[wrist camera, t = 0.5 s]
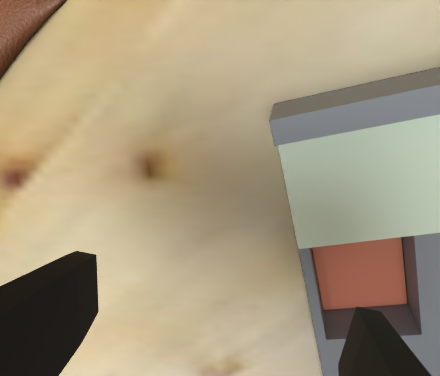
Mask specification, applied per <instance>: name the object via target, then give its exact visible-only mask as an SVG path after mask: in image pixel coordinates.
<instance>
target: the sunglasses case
mask: <svg viewBox="0 0 440 376" xmlns="http://www.w3.org/2000/svg"><path fill="white" fill-rule="evenodd" d="M65 1H66V0H0V78H1V77H2V75H3V74H4V72H5V71H6V70H7V68H8V67H9V65H10V64H11V63H12V62H13V61H14V59H15V58H16V56H17V55H18V54H19V52H20V51H21V49H22V48H23V46H24V45H25V44H26V43H27V41H28V40H29V39H30V38H31V37H32V36H33V35H34V34H35V33H36V31H37V30H38V29H39V28H40V26H41V25H42V24H43V23H44V22H45V20H46V19H47V18H48V17H49V16H50V15H51V14H52V13H53V12H55V11H57V10H58V9H59V8H60V7H61V6H62V5H63V4H64V3H65Z"/></svg>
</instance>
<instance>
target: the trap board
mask: <svg viewBox="0 0 440 376" xmlns="http://www.w3.org/2000/svg"><path fill="white" fill-rule="evenodd" d="M269 121H270V126H271V131H272V136H273V141H274V146H277V145H278V149H279V154H280V159H281V164H282V169H283V175H284V180H285V185H286V190H287V195H288V200H289V205H290V210H291V215H292V220H293V225H294V230H295V235H296V240H297V245H298V250H299V255H300V260H301V266H302V271H303V276H304V281H305V286H306V291H307V296H308V301H309V306H310V311H311V316H312V321H313V326H314V331H315V336H316V341H317V346H318V352H319V357H320V362H321V367H322V372H323V376H339V372H338V363H339V360H340V357H341V353H342V350H343V347H344V344H345V340H346V337H347V334H348V331H349V328H350V324H351V321H352V318H353V315H354V311H355V308H356V306H357V307H362V308H367V309H372V310H377V311H381V312H382V314H383V315H384V316H385V317H386V319H387V320H388V321H389V322H390V324H391V325H392V326H393V328H394V329H395V330H396V331H397V333H398V334H399V335H400V337H401V338H402V339H403V340H404V342H405V343H406V344H407V346H408V347H409V348H410V349H411V351H412V352H413V353H414V354H415V356H416V357H417V358H418V359H419V361H420V362H421V363H422V364H423V366H424V367H425V368H426V369H427V371H428V372H429V373H430V374H431V375H432V376H440V67H438V68H434V69H429V70H425V71H420V72H416V73H411V74H407V75H402V76H398V77H393V78H389V79H384V80H380V81H375V82H370V83H366V84H361V85H357V86H352V87H348V88H343V89H339V90H334V91H330V92H325V93H321V94H316V95H312V96H307V97H303V98H298V99H294V100H289V101H285V102H280V103H276V104H274V106H273V109H272V113H271V117H270V120H269ZM312 249H313V253H312ZM313 255H314V259H313ZM314 260H315V264H314ZM315 266H316V270H315ZM316 271H317V275H316ZM317 277H318V281H317ZM318 282H319V286H318ZM319 288H320V291H319ZM320 293H321V297H320ZM321 299H322V302H321ZM322 304H323V307H322Z"/></svg>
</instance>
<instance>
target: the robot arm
mask: <svg viewBox="0 0 440 376" xmlns="http://www.w3.org/2000/svg"><path fill="white" fill-rule="evenodd" d="M97 313H98V289H97V263H96V255H94V254H89V253H84V252H79V251H75V252H73V253H70V254H68V255H66V256H63V257H61V258H59V259H57V260H55V261H53V262H51V263H48V264H46V265H44V266H42V267H40V268H38V269H36V270H34V271H32V272H30V273H28V274H25V275H23V276H21V277H19V278H17V279H15V280H13V281H11V282H8V283H6V284H4V285H2V286H0V376H59V374H60V373H61V372H62V370H63V369H64V367H65V366H66V365H67V363H68V362H69V360H70V359H71V357H72V356H73V355H74V353H75V352H76V350H77V349H78V347H79V346H80V345H81V343H82V341H83V339H84V338H85V336H86V334H87V332H88V330H89V329H90V327H91V325H92V323H93V321H94V319H95V317H96V315H97ZM338 372H339V376H432V375H431V374H430V373H429V372H428V371H427V369H426V368H425V367H424V366H423V364H422V363H421V362H420V361H419V359H418V358H417V357H416V356H415V354H414V353H413V352H412V351H411V349H410V348H409V347H408V346H407V344H406V343H405V342H404V340H403V339H402V338H401V337H400V335H399V334H398V333H397V331H396V330H395V329H394V328H393V326H392V325H391V324H390V322H389V321H388V320H387V319H386V317H385V316H384V315H383V314H382V312H381V311H377V310H372V309H367V308H362V307H357V306H356V308H355V311H354V315H353V318H352V321H351V324H350V328H349V331H348V334H347V337H346V340H345V344H344V347H343V350H342V353H341V357H340V360H339V363H338Z"/></svg>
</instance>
